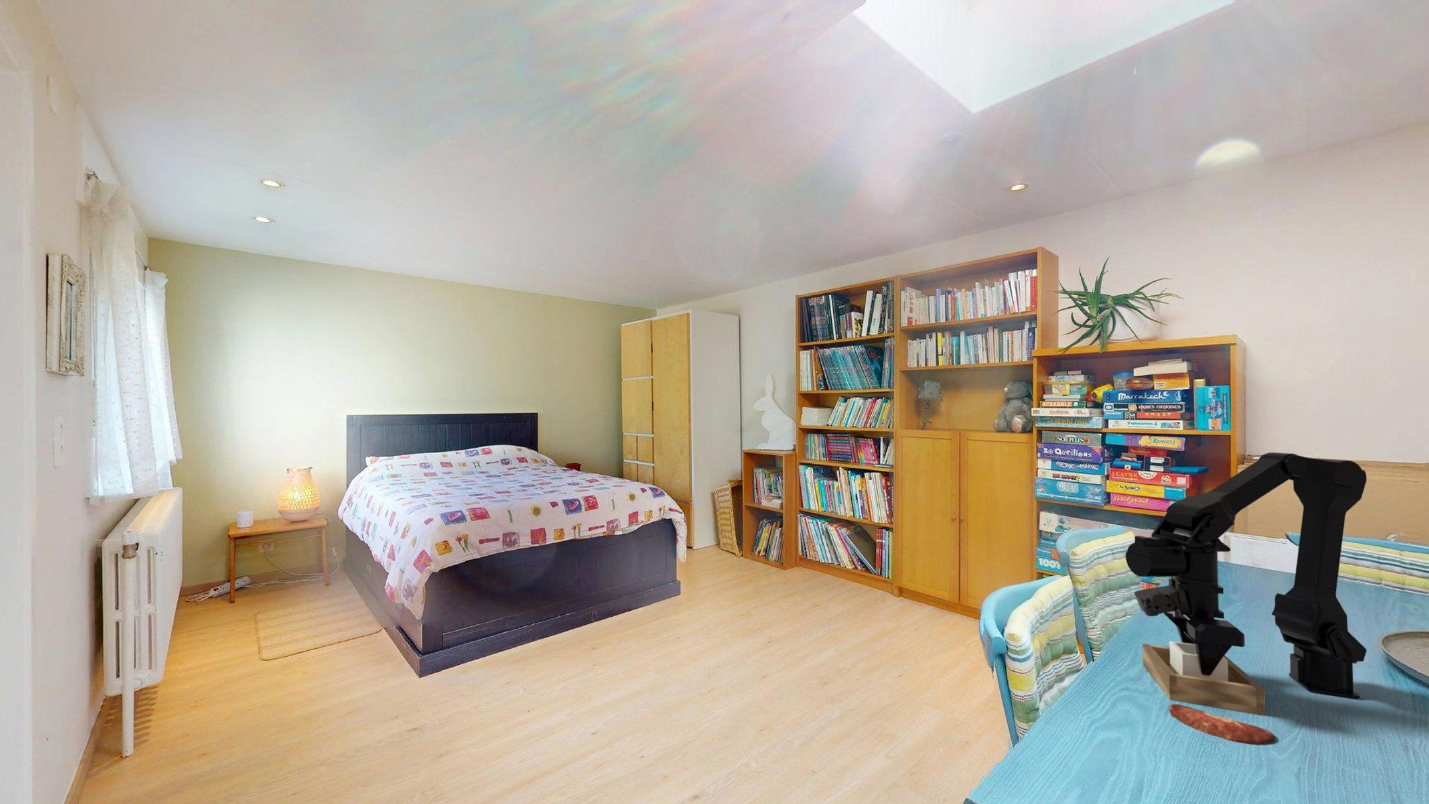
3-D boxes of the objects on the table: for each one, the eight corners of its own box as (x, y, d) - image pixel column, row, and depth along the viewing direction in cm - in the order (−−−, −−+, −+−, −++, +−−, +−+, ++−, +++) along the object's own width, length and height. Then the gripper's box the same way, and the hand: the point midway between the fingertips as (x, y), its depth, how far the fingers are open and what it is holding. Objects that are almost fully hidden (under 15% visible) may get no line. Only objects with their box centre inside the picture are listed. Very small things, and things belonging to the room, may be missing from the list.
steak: (1172, 693, 90) (1277, 724, 82) (1172, 704, 90) (1277, 736, 81) (1163, 710, 85) (1274, 745, 76) (1163, 722, 85) (1274, 759, 76)
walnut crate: (1224, 677, 99) (1224, 654, 99) (1265, 715, 86) (1264, 689, 87) (1142, 665, 104) (1142, 643, 104) (1169, 699, 91) (1169, 674, 91)
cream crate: (1212, 669, 97) (1212, 646, 97) (1228, 684, 91) (1227, 660, 92) (1170, 663, 99) (1169, 640, 99) (1182, 677, 94) (1182, 653, 94)
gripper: (1124, 559, 108) (1126, 640, 107) (1156, 585, 90) (1158, 681, 90) (1196, 565, 103) (1198, 649, 103) (1245, 594, 86) (1247, 695, 86)
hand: (1198, 667), depth 95 cm, fingers closed on cream crate, 6 cm apart
